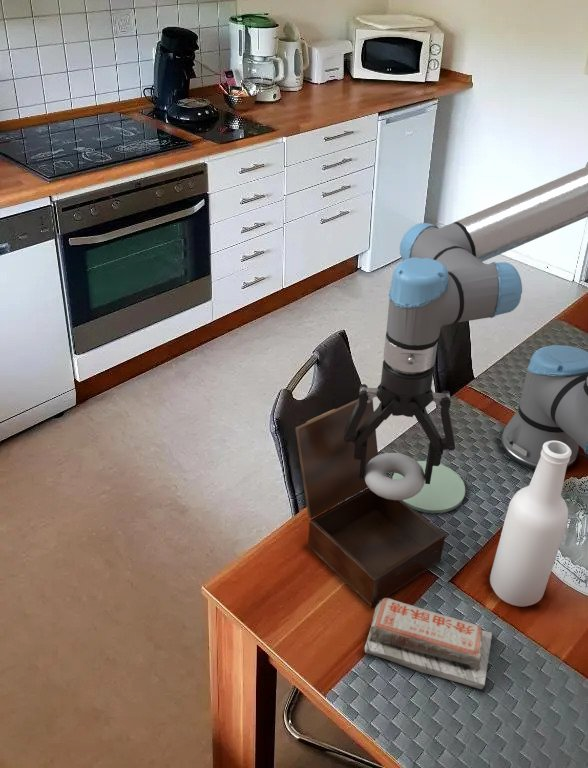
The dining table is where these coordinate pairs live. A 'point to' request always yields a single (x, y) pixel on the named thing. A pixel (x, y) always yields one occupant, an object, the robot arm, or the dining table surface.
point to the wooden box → (375, 544)
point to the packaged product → (430, 642)
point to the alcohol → (532, 531)
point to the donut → (394, 487)
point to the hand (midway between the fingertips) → (394, 475)
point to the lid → (331, 458)
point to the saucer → (437, 491)
